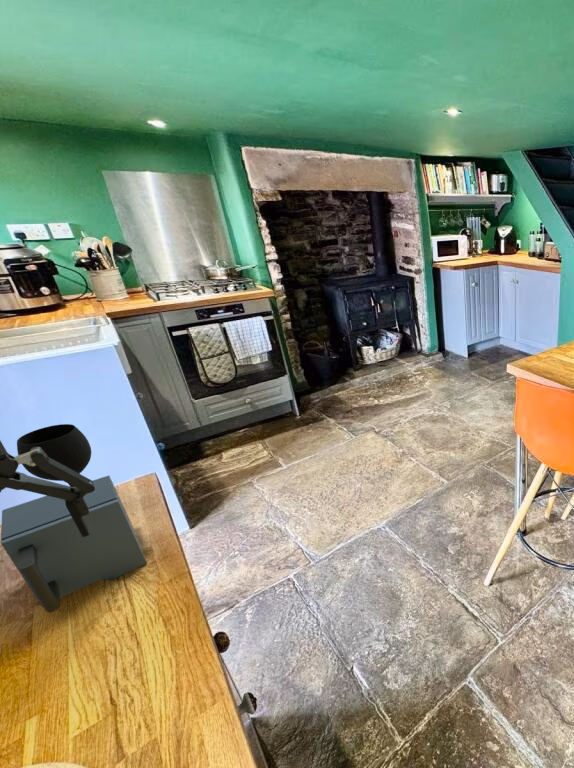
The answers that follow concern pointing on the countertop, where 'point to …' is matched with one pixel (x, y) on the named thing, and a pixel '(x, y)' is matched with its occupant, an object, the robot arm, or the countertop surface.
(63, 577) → the cupboard door
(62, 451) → the wine glass
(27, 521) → the cupboard
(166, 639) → the countertop surface
